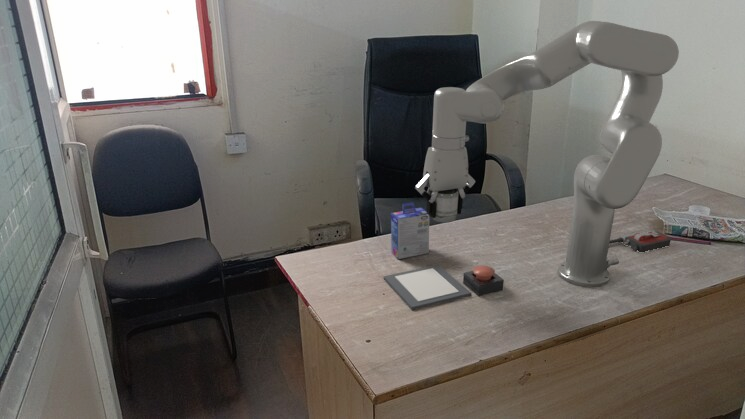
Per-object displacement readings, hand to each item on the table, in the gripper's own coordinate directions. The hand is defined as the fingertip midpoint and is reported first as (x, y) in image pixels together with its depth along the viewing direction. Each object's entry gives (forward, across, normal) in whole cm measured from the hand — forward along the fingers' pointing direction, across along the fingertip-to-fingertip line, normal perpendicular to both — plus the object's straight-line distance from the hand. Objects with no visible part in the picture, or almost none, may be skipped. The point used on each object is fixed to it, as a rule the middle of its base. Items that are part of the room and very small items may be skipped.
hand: (444, 213), depth 131 cm
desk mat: (+18, +5, +2) cm, 19 cm away
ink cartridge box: (+18, +1, -17) cm, 25 cm away
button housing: (+18, -8, +8) cm, 21 cm away
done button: (+16, -8, +8) cm, 19 cm away
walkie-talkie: (+18, -61, +4) cm, 64 cm away
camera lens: (+2, 0, 0) cm, 2 cm away
